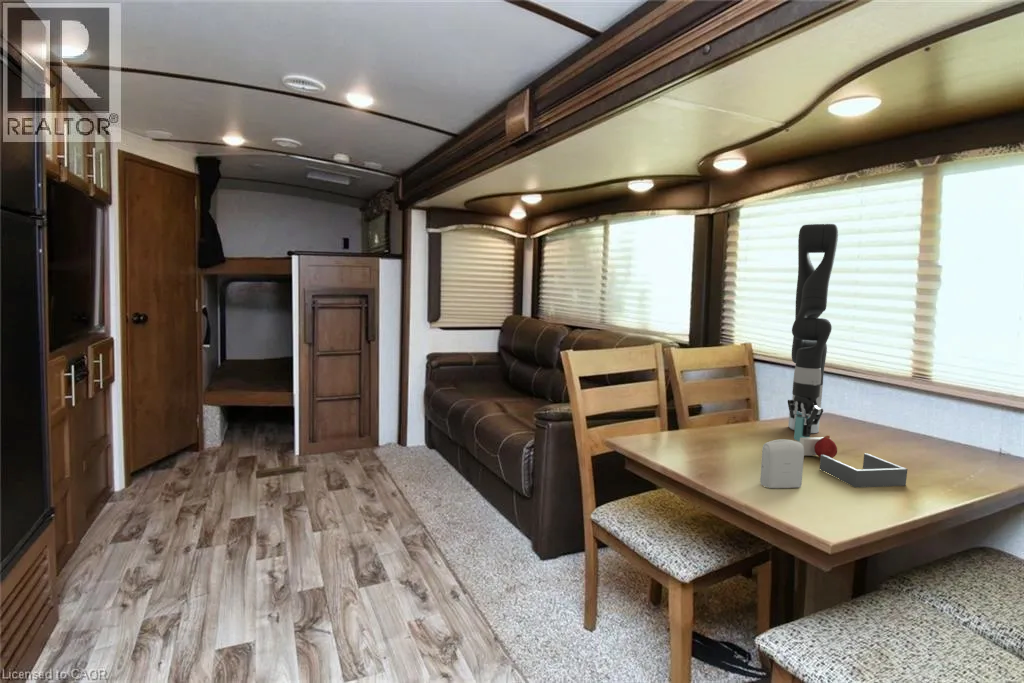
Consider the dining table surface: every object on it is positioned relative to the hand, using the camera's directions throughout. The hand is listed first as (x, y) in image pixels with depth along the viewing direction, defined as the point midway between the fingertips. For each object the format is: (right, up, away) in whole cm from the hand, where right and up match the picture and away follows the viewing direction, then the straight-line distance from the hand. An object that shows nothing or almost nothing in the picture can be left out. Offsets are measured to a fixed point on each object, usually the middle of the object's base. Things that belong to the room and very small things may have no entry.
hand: (802, 434), depth 167 cm
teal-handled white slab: (0, -5, -2) cm, 5 cm away
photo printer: (-22, -8, -30) cm, 38 cm away
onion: (+2, -7, -9) cm, 11 cm away
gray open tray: (+4, -8, -22) cm, 24 cm away
